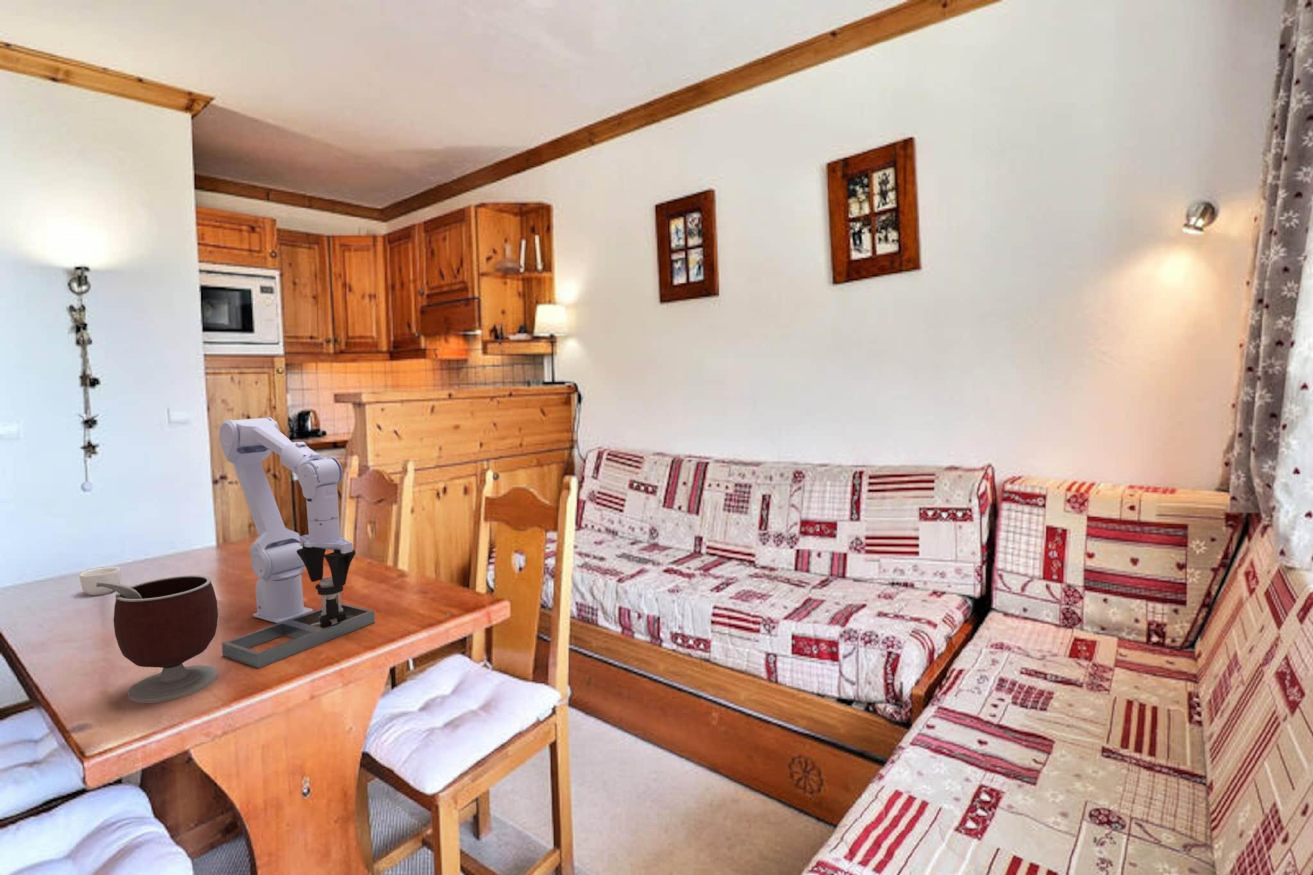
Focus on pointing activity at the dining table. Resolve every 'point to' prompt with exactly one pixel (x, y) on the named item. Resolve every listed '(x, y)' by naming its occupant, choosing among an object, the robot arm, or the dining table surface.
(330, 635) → the rail frame
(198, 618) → the mate gourd
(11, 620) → the dining table surface
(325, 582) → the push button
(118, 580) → the teacup
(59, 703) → the dining table surface
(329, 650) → the dining table surface
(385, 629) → the dining table surface
